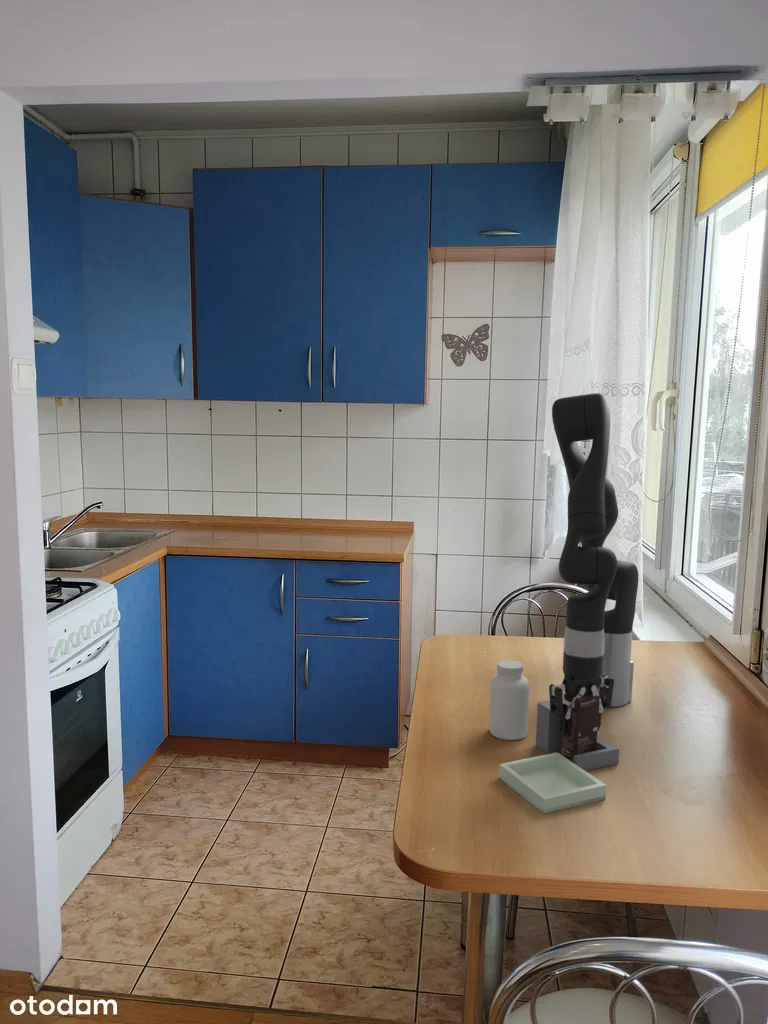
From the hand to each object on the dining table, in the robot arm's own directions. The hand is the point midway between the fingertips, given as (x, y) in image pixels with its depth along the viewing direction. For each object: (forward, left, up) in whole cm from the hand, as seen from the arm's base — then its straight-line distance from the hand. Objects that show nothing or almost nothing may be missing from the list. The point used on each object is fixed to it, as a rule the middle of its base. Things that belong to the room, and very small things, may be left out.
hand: (579, 732), depth 153 cm
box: (0, 0, -4) cm, 4 cm away
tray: (+12, +8, -5) cm, 16 cm away
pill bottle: (+6, -15, -6) cm, 17 cm away
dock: (-1, -1, -5) cm, 6 cm away
